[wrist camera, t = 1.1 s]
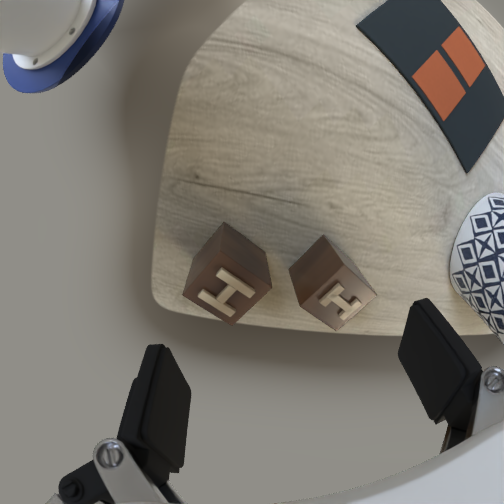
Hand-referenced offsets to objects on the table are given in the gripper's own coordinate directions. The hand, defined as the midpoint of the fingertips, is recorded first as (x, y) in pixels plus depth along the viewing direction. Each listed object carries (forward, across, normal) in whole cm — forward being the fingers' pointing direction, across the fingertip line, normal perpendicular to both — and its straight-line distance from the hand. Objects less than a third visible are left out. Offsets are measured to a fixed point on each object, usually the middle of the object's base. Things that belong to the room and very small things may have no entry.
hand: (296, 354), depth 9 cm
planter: (+17, -31, +8) cm, 36 cm away
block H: (+17, +4, +4) cm, 17 cm away
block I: (+17, -5, +6) cm, 19 cm away
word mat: (+16, -23, -14) cm, 32 cm away
